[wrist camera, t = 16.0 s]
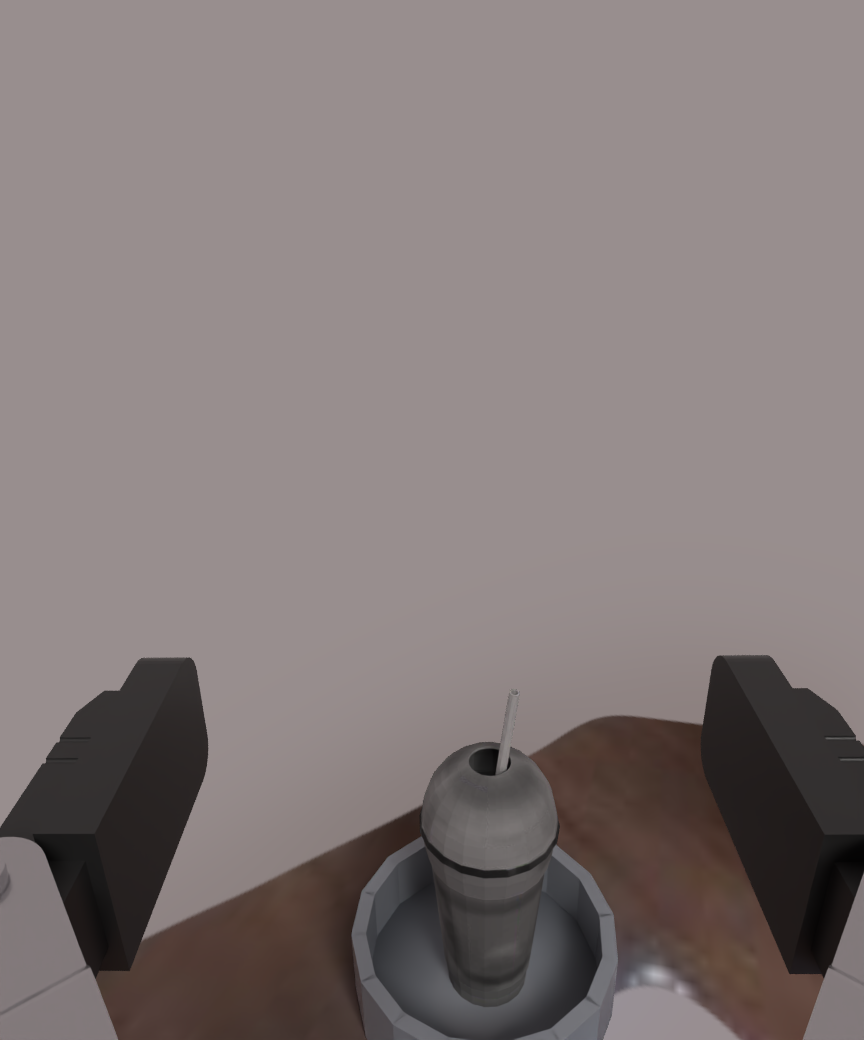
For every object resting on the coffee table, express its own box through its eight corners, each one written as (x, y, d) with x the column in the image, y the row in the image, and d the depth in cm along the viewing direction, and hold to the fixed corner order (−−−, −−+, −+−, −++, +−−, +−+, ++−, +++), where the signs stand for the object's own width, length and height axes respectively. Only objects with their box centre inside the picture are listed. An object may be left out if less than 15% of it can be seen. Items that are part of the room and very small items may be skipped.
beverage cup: (454, 898, 50) (451, 630, 42) (566, 941, 48) (586, 662, 39) (402, 999, 45) (387, 710, 36) (526, 1054, 42) (540, 754, 33)
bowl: (641, 934, 49) (648, 881, 47) (553, 1174, 38) (557, 1118, 36) (435, 845, 56) (434, 795, 54) (307, 1026, 44) (300, 972, 42)
